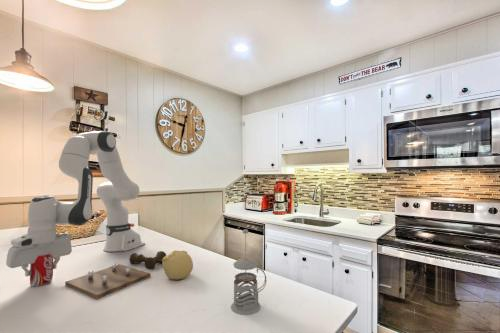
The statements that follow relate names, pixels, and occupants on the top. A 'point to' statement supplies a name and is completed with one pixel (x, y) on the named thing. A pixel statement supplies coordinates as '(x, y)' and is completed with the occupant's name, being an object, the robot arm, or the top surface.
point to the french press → (246, 301)
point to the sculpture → (177, 265)
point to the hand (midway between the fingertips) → (41, 272)
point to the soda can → (42, 270)
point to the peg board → (107, 280)
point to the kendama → (147, 259)
